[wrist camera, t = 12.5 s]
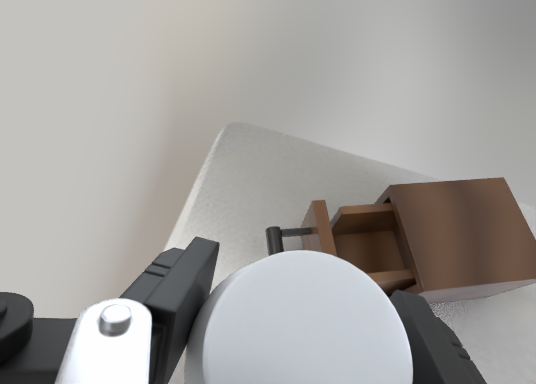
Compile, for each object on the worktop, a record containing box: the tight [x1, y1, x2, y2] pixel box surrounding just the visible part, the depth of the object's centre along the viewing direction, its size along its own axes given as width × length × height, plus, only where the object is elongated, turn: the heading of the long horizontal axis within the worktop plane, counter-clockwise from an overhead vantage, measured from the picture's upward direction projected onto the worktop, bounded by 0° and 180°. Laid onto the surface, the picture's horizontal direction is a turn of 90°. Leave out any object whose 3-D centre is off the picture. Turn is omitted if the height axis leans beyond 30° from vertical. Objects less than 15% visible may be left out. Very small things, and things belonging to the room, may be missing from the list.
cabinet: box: [375, 178, 536, 304], centre depth 33 cm, size 12×10×9 cm
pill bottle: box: [185, 250, 413, 384], centre depth 11 cm, size 5×5×10 cm
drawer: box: [266, 200, 417, 294], centre depth 32 cm, size 15×8×7 cm, turn 97°
